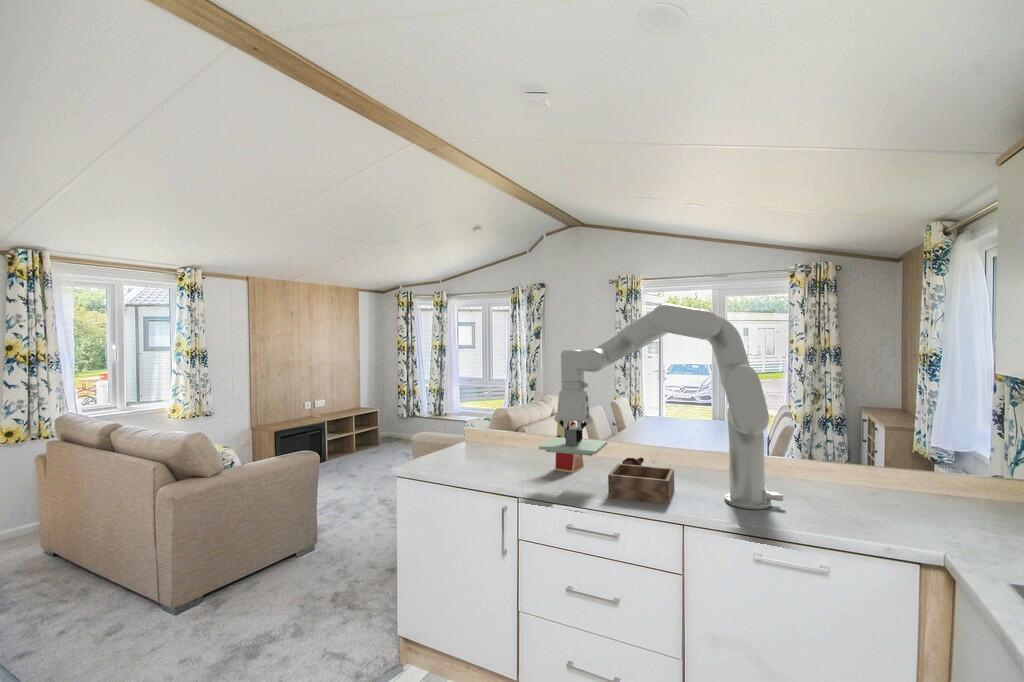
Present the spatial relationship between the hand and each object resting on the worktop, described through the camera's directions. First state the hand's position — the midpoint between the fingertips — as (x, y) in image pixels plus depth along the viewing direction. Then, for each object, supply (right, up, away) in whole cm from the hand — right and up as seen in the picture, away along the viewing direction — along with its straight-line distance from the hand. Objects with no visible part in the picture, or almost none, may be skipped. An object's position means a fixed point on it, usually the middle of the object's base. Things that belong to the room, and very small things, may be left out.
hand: (573, 440), depth 160 cm
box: (+20, -16, -9) cm, 27 cm away
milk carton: (+1, -16, +25) cm, 30 cm away
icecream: (+23, -16, +13) cm, 31 cm away
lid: (0, -3, 0) cm, 3 cm away
